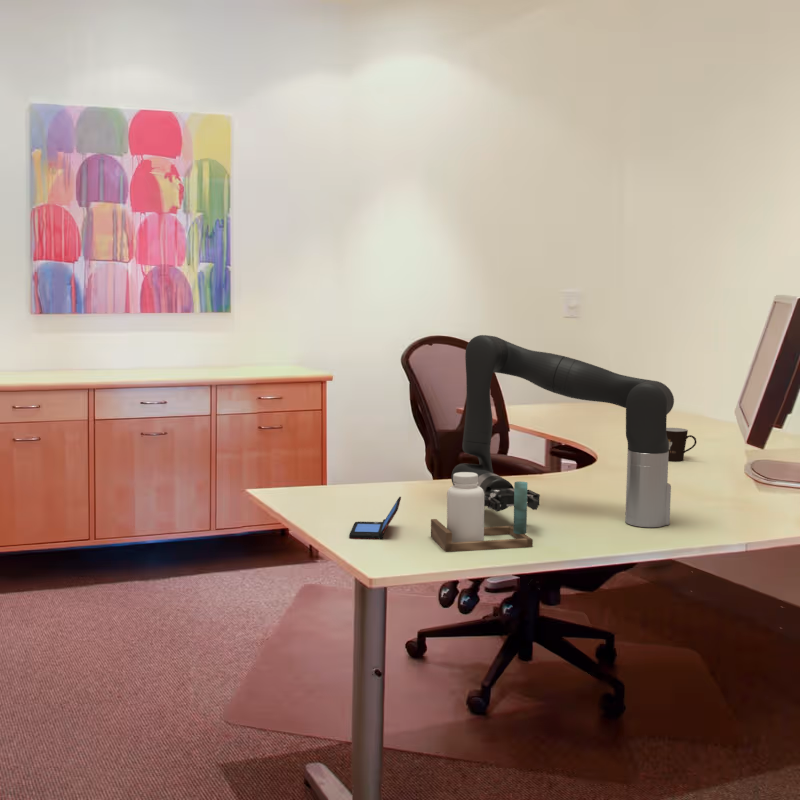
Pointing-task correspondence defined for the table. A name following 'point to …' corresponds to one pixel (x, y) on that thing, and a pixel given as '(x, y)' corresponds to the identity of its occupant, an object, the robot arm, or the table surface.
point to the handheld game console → (373, 526)
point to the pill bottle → (465, 508)
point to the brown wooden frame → (491, 529)
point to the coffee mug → (677, 443)
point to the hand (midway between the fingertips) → (517, 506)
